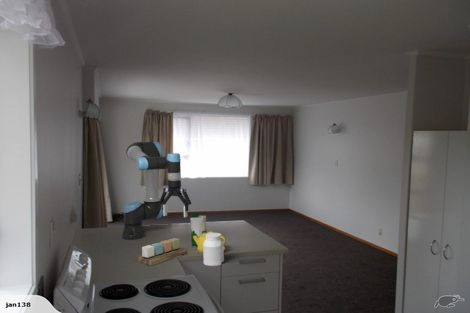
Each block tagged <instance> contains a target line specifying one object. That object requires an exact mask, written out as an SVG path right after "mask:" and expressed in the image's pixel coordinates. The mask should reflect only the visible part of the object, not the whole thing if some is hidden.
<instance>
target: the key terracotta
mask: <svg viewBox="0 0 470 313" xmlns="http://www.w3.org/2000/svg"><path fill="white" fill-rule="evenodd" d="M159 243H161V244H163V252H168V251H171V250H172V244H171V241H168V240H167V239H165V240H162V241H159Z"/></svg>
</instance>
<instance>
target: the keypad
mask: <svg viewBox="0 0 470 313" xmlns="http://www.w3.org/2000/svg"><path fill="white" fill-rule="evenodd" d="M186 253H187V254H188V251H187V249H185V248H181V247H180V248H177V249H174V250H173V249H172V250H171V251H168V252H163V253H161V254H158V255H155V254H154V256H151V257H148V258H147V257H144V256H142V253H141V254H138V255H135V261H136V262H137V263H142V264H143V265H146V266H149V267H153V266H156V265H159V264H162V263H164V262H168V261H171V260H173V258H174V259H176V258H175V257H177V256H180V255H183V254H186ZM187 254H186V255H187ZM183 256H184V255H183ZM180 257H181V256H180ZM177 258H178V257H177Z"/></svg>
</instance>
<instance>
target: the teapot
mask: <svg viewBox="0 0 470 313" xmlns="http://www.w3.org/2000/svg"><path fill="white" fill-rule="evenodd" d="M208 233H214V232H213V231H207V232H206V233H204V234H202V235H201V236H199V238H198V237H197V236H193V238H194V240H195V242H196V244H197V245H198V247H196V248H197V253H198V254H199V253H203V243H204V241H205V239H206V234H208ZM220 234H221V239H222V241H223V242H224V245H225V244H226V241H227V240H226V238H225V236H223V234H222V233H220ZM225 250H226V247H225V246H224V251H225Z"/></svg>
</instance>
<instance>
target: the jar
mask: <svg viewBox="0 0 470 313" xmlns="http://www.w3.org/2000/svg"><path fill="white" fill-rule="evenodd" d="M207 233H208V232H207ZM221 234H222V233H221V232H220V233H219V232H213V233H208V234H206V239H205V241H204V243H203V254H202V255H203V263H202V264H203V265H205V266H208V267H209V266H210V267H211V266H212V267H216V266H217V267H218V266H221V265H222V263H224V261H225V254H224V253H225V252H224V251H225V250H224V247H225V244H224V242H223V241H222V239H221Z"/></svg>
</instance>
